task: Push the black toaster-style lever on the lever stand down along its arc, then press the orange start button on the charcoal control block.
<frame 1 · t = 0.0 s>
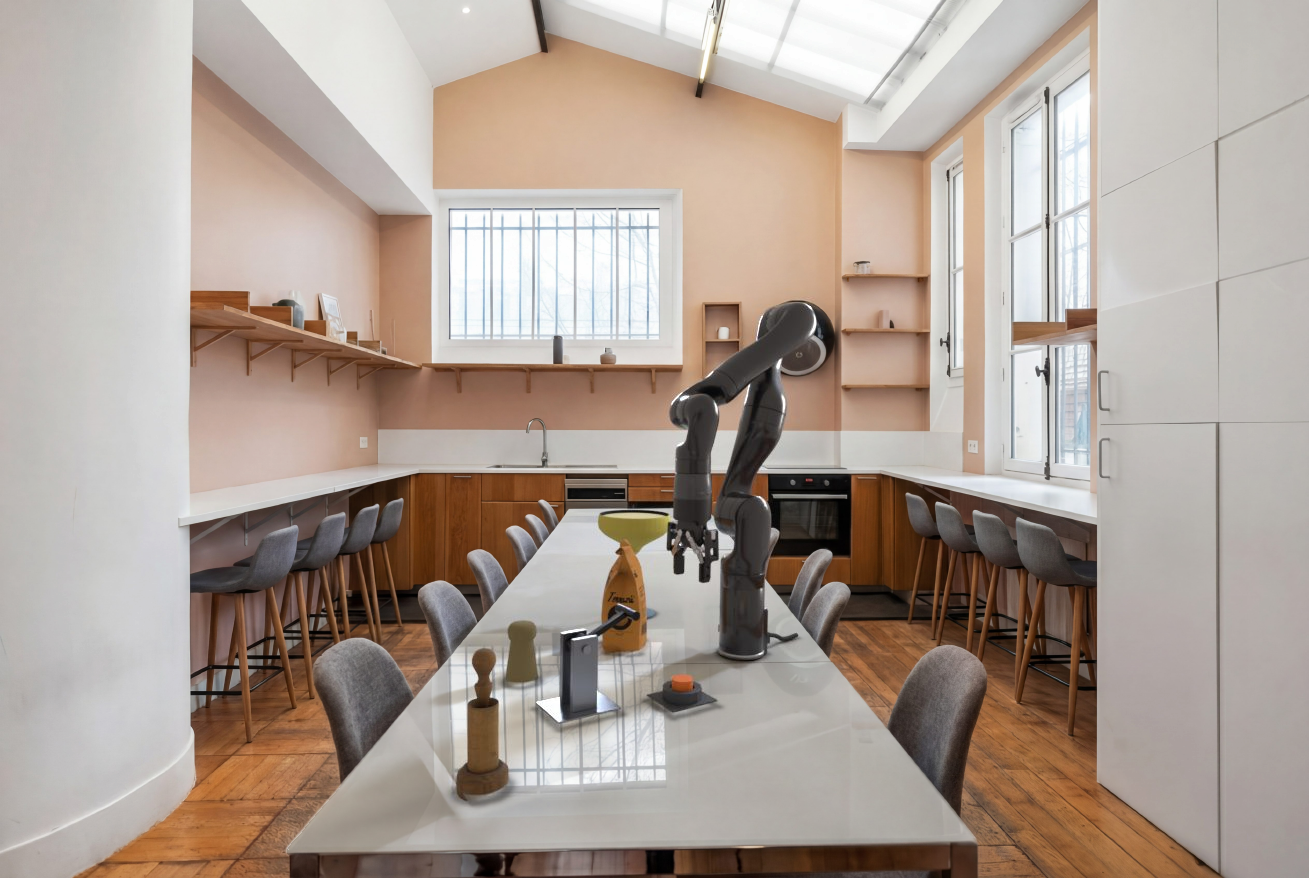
hand: (691, 578, 135), 17 cm above the table, tool pointing down, fingers open, 8 cm apart
lever stand: (578, 711, 112), on the table
control block: (681, 703, 116), on the table
toaster lever: (602, 629, 114), point 13 cm above the table, hinge at 25.0°
coffee package: (623, 647, 146), on the table
cork: (521, 682, 125), on the table
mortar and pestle: (482, 789, 88), on the table
start button: (682, 683, 116), point 4 cm above the table, slide at 0.2 cm
cocktail glass: (633, 614, 171), on the table
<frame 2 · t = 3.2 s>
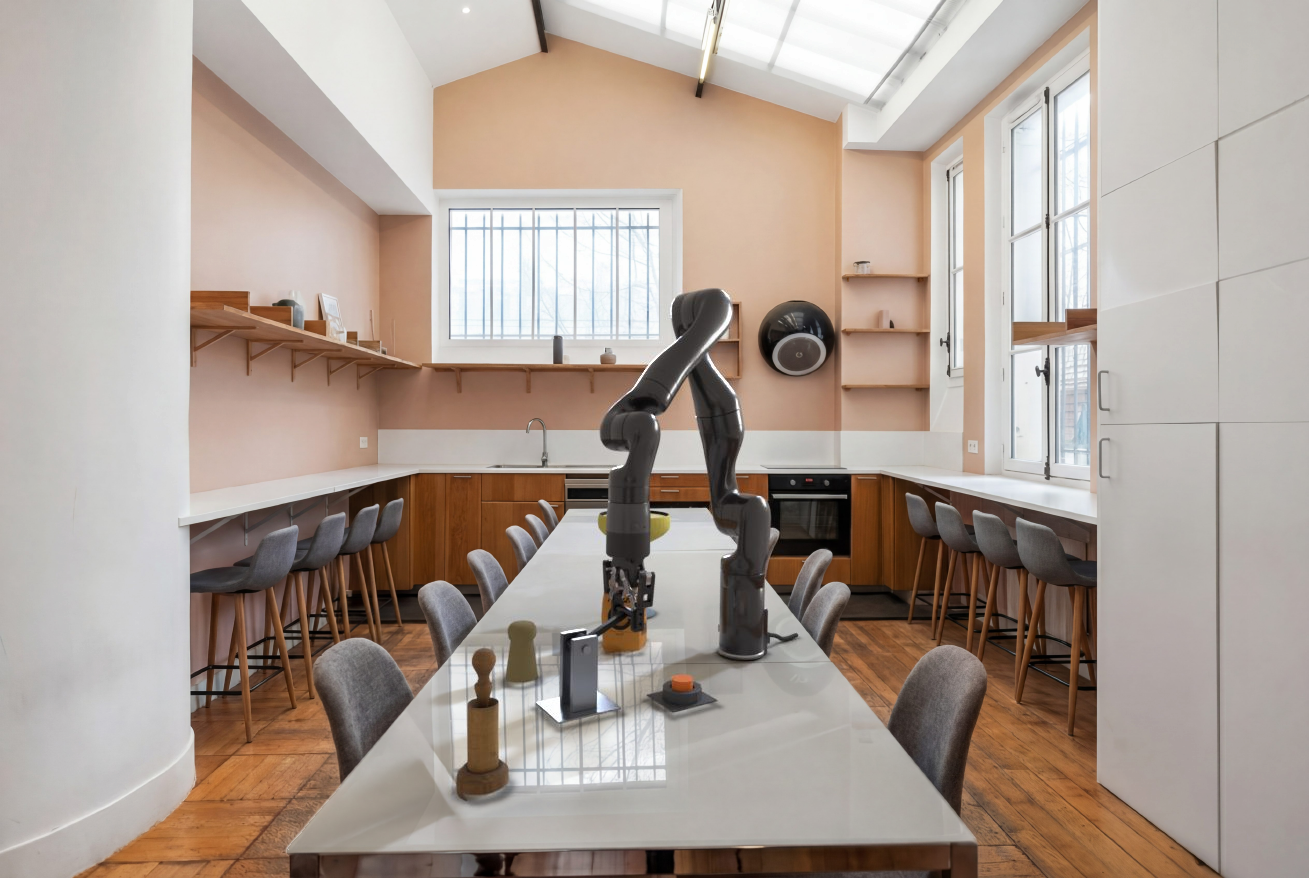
hand: (626, 625, 117), 13 cm above the table, tool pointing down, fingers closed on toaster lever, 6 cm apart
toaster lever: (602, 629, 114), point 13 cm above the table, hinge at 24.9°, touching gripper
everything else where it was.
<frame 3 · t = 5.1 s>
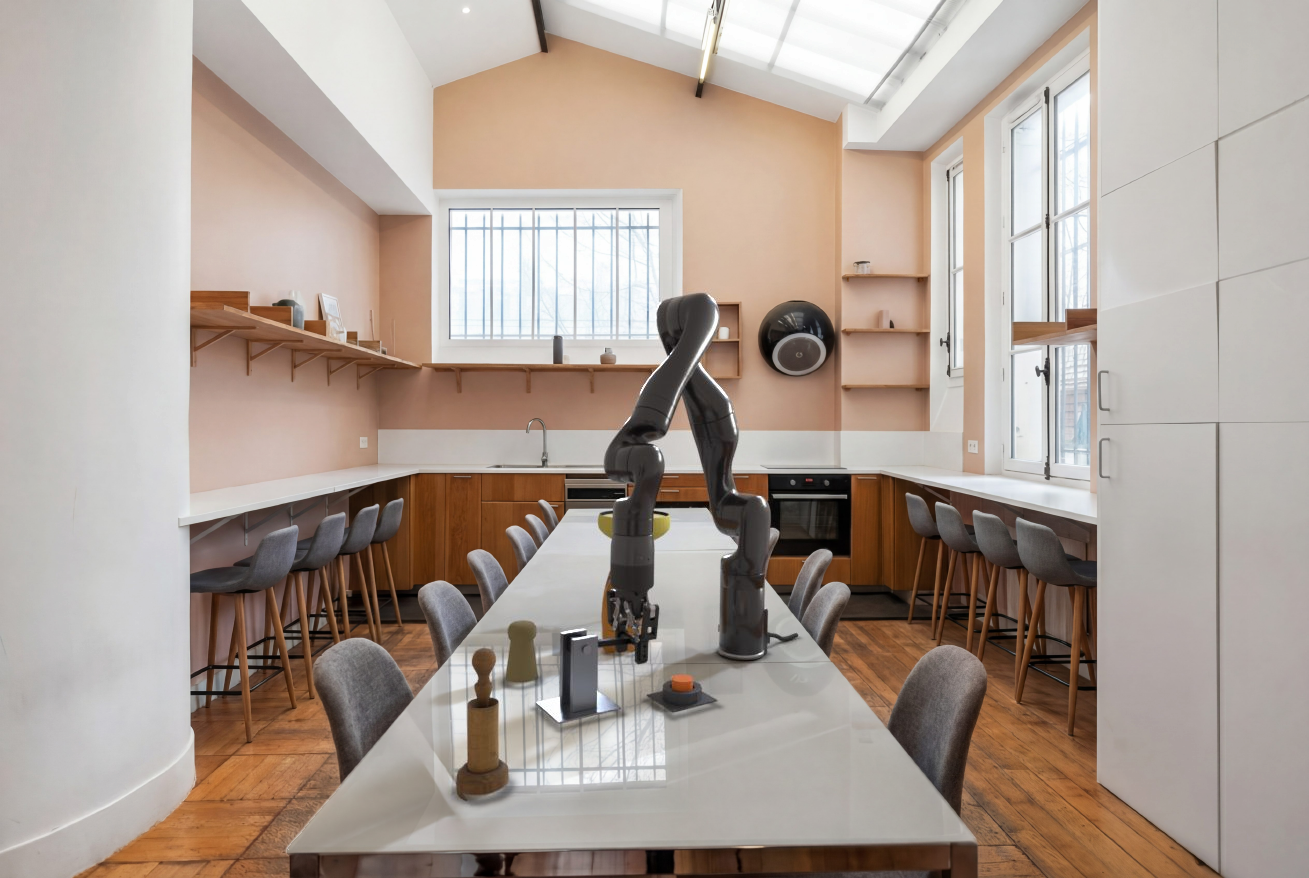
hand: (630, 656, 117), 7 cm above the table, tool pointing down, fingers closed on toaster lever, 6 cm apart
toaster lever: (604, 642, 114), point 11 cm above the table, hinge at -4.3°, touching gripper
everything else where it was.
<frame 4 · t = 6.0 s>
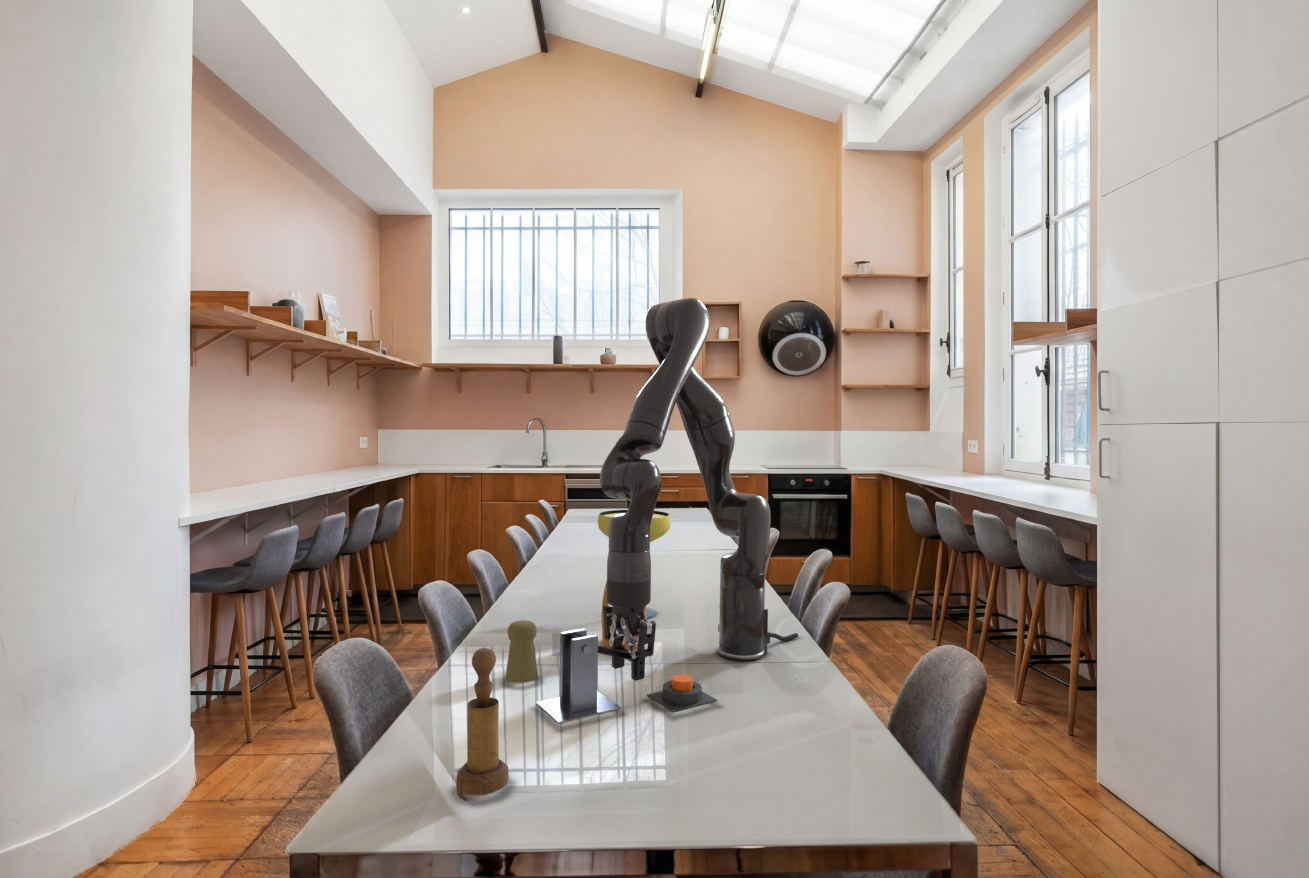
hand: (627, 672, 117), 5 cm above the table, tool pointing down, fingers closed on toaster lever, 6 cm apart
toaster lever: (602, 649, 114), point 9 cm above the table, hinge at -19.1°, touching gripper
everything else where it was.
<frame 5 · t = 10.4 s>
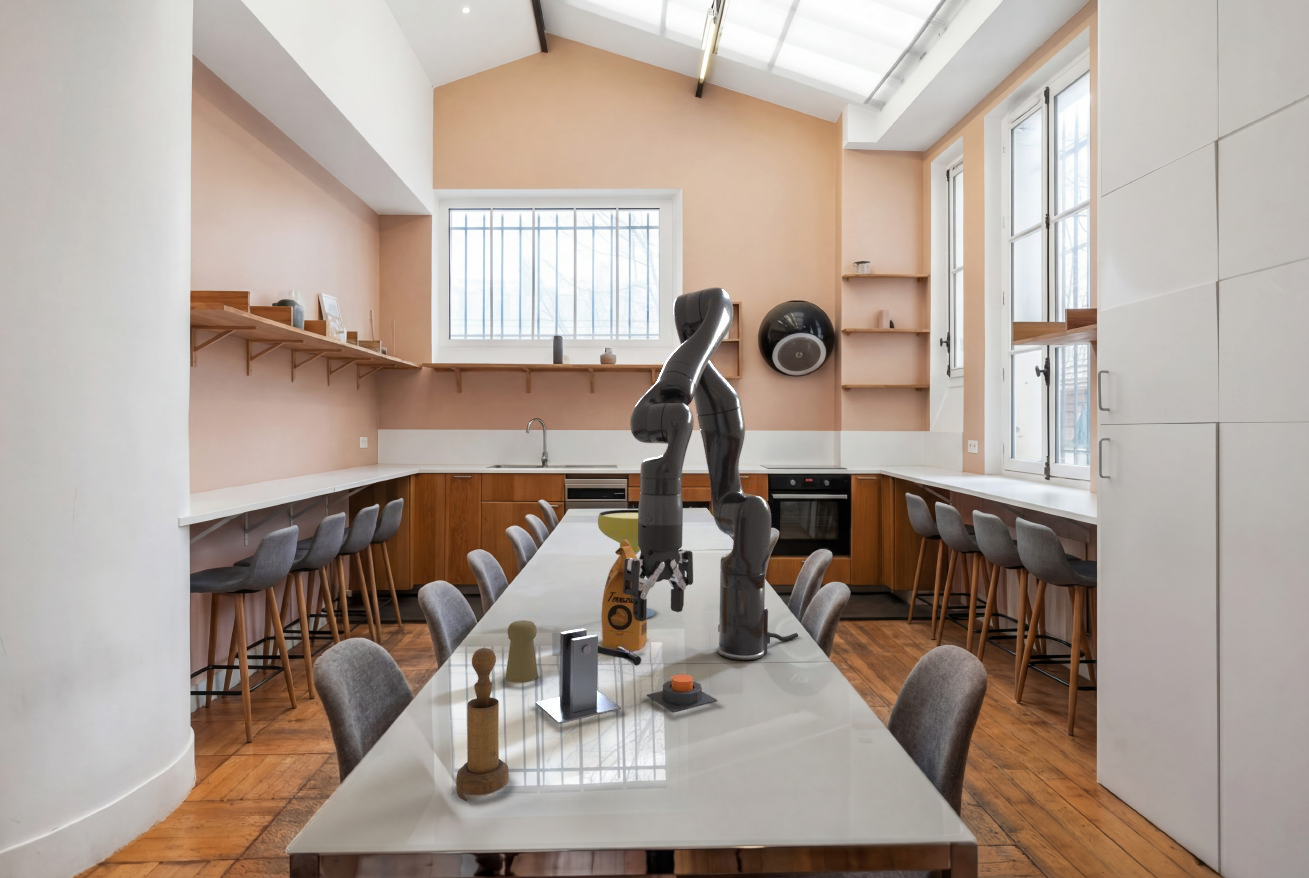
hand: (658, 615, 116), 15 cm above the table, tool pointing down, fingers open, 8 cm apart
toaster lever: (602, 650, 114), point 9 cm above the table, hinge at -19.5°
everything else where it was.
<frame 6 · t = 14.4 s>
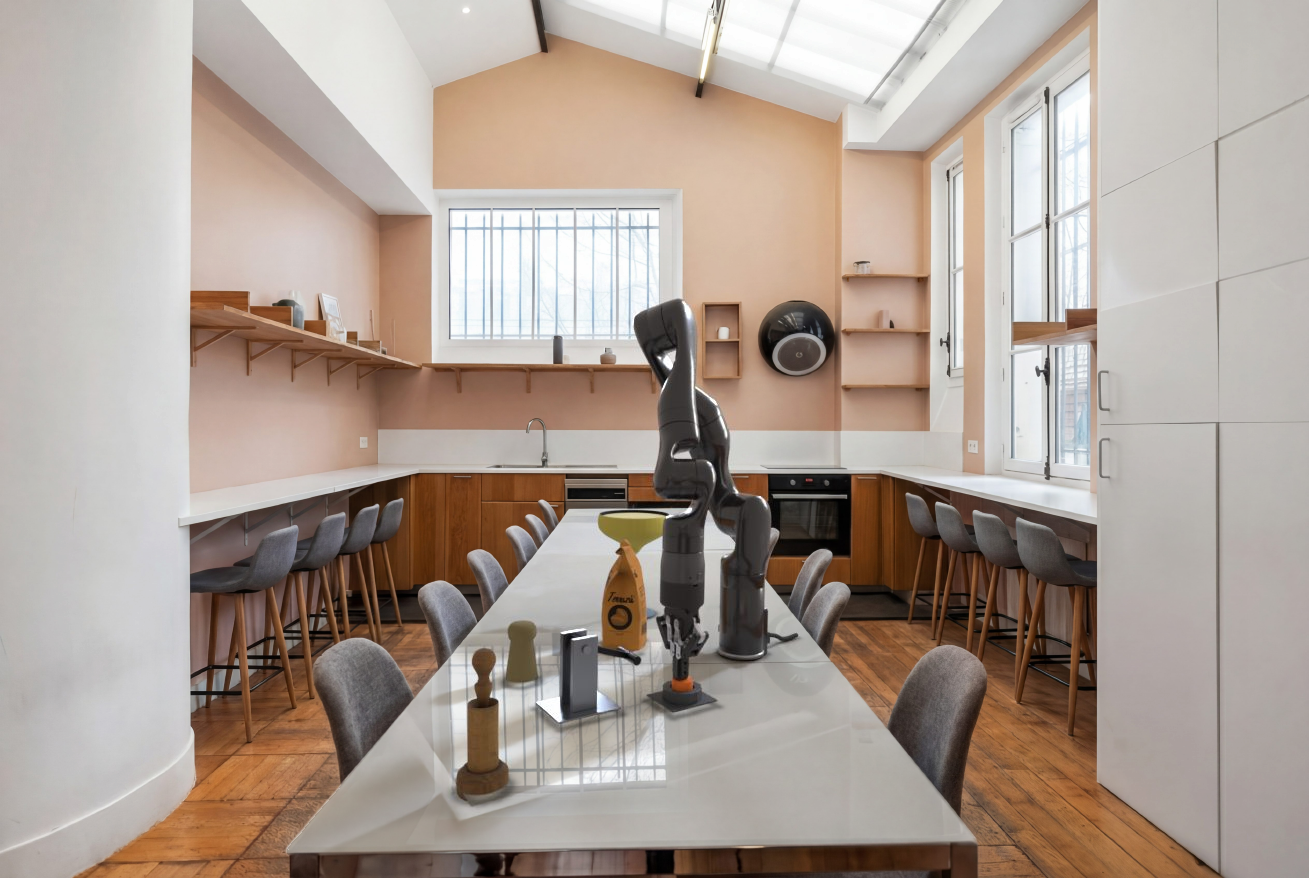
hand: (680, 678, 116), 4 cm above the table, tool pointing down, fingers closed
start button: (682, 683, 116), point 3 cm above the table, slide at 0.0 cm, touching gripper
everything else where it was.
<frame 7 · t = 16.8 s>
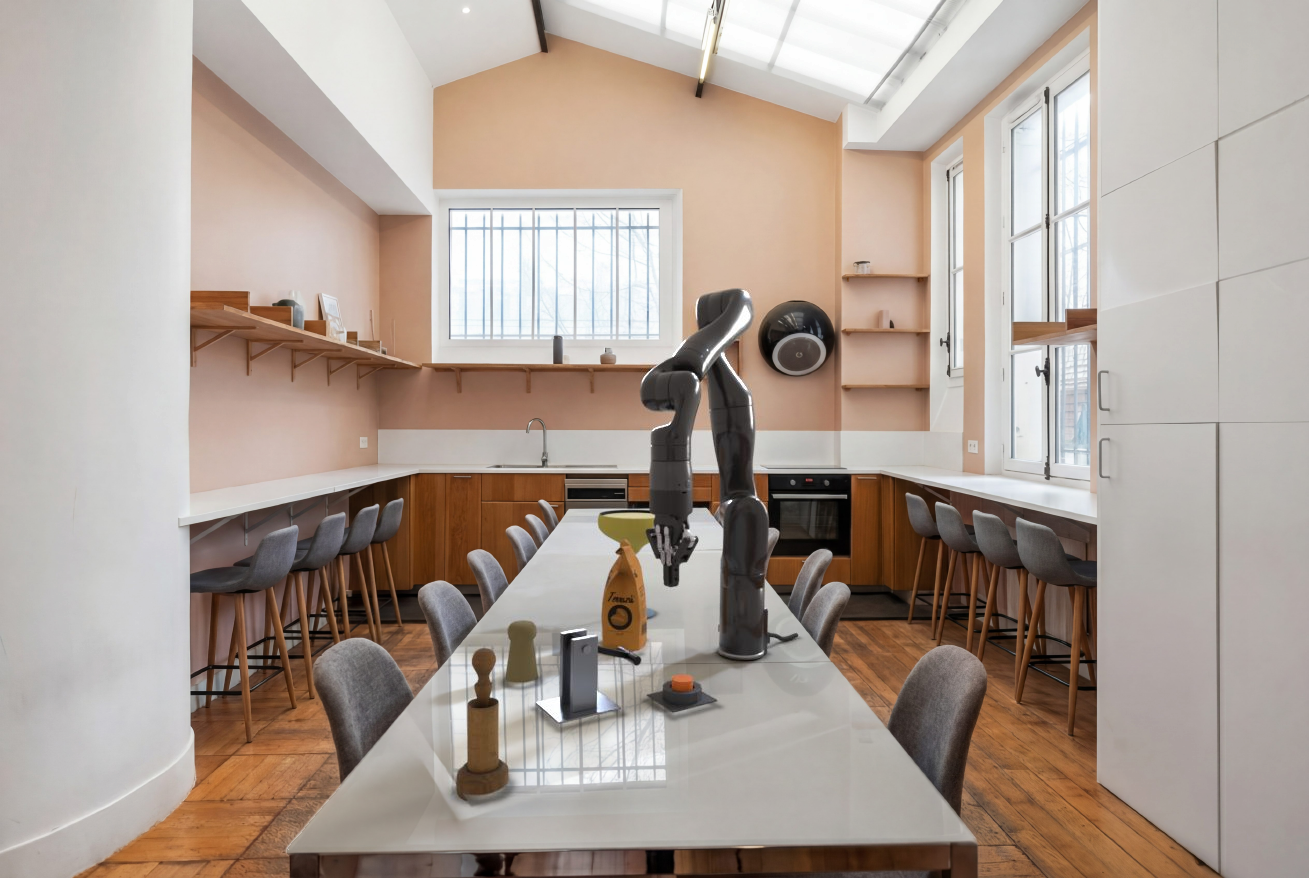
hand: (671, 585, 119), 19 cm above the table, tool pointing down, fingers closed
start button: (682, 683, 116), point 4 cm above the table, slide at 0.2 cm
everything else where it was.
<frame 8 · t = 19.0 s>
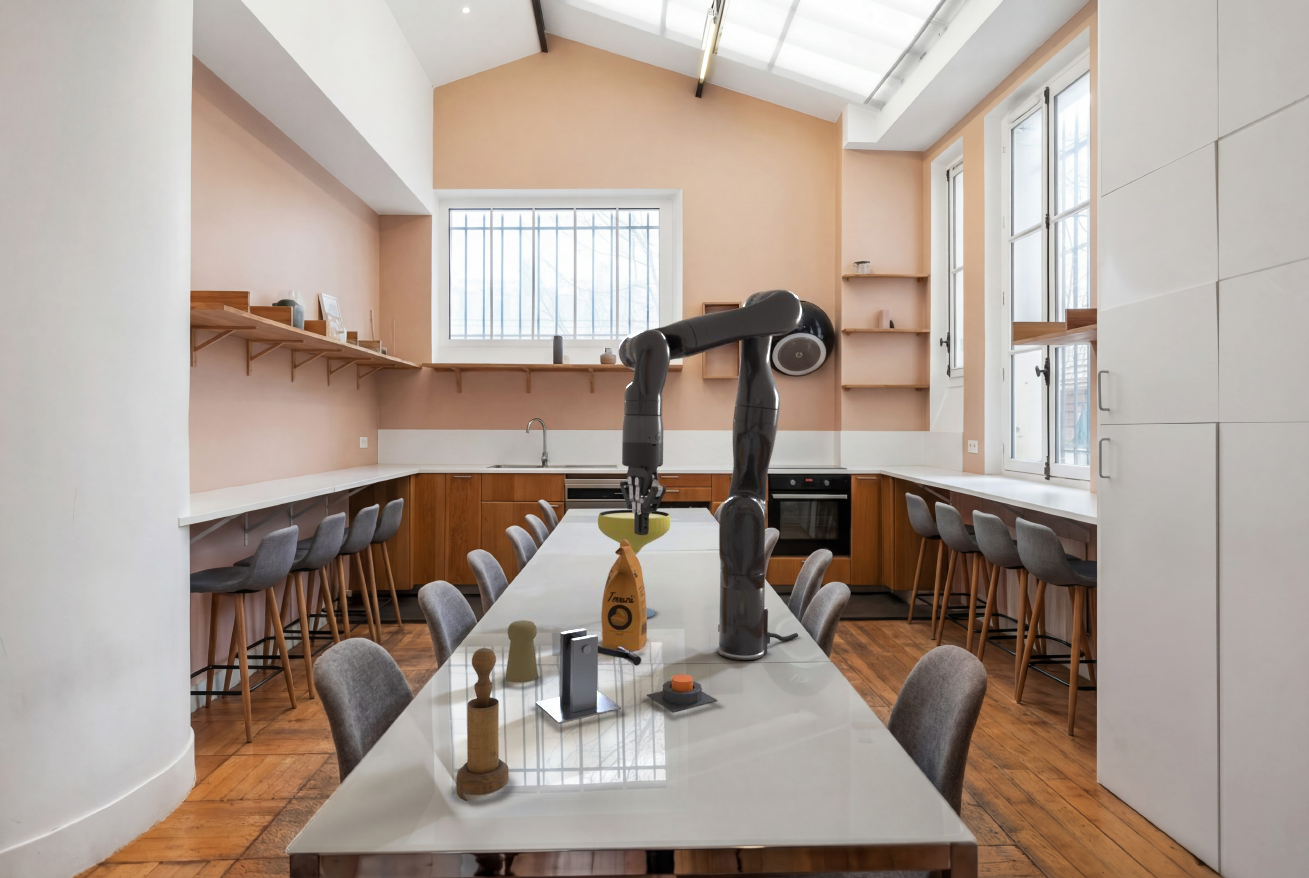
hand: (641, 534, 126), 27 cm above the table, tool pointing down, fingers closed
nothing on the table moved.
at the end: toaster lever at -20° (first picture: +25°); start button pushed in 1.1 cm at the most during the clip, back to 0.2 cm at the end; start button slide at 0.2 cm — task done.
